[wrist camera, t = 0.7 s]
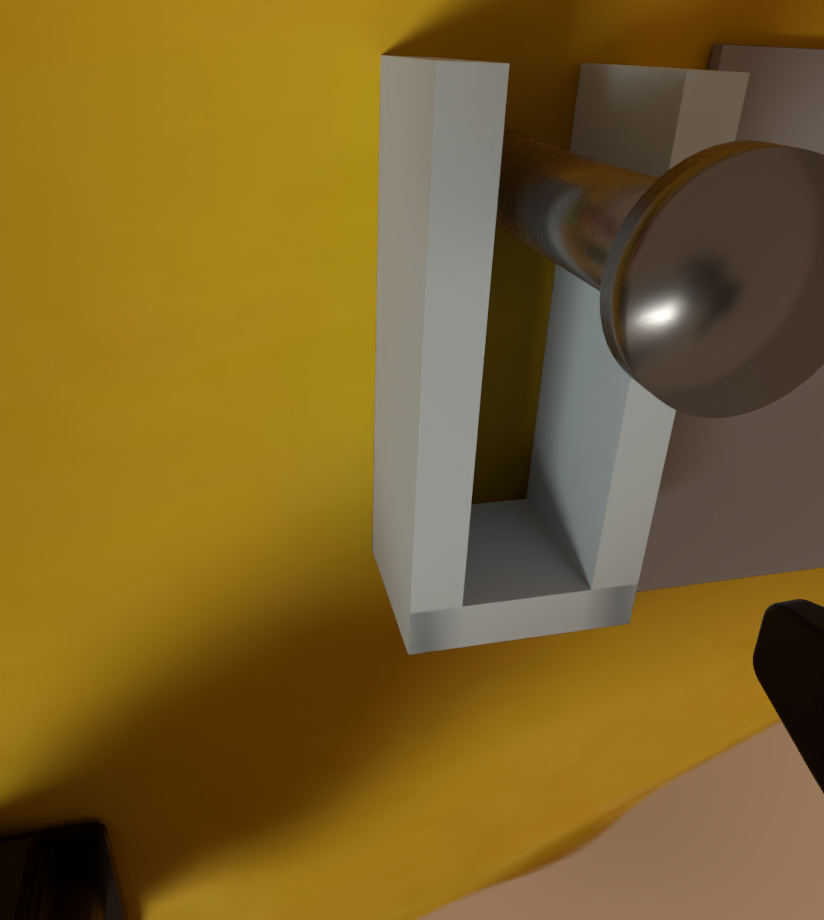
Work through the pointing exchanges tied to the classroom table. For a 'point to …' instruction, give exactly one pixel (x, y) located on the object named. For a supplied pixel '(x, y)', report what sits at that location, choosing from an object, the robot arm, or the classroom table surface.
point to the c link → (462, 357)
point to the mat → (764, 430)
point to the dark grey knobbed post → (687, 263)
